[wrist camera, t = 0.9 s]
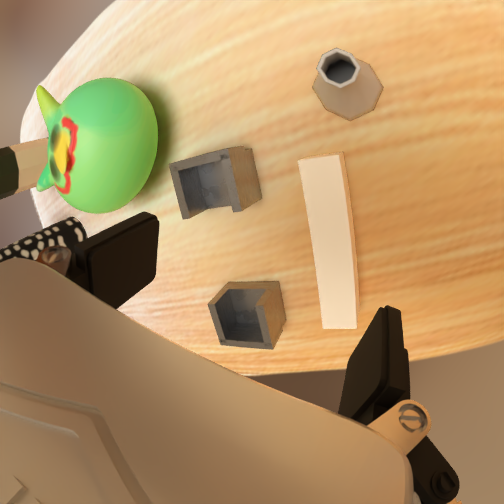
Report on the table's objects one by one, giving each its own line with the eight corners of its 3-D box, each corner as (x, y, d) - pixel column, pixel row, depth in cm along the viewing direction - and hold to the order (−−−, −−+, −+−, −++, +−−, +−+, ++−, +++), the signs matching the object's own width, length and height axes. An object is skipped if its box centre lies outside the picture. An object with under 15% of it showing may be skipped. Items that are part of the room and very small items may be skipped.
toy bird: (163, 214, 42) (86, 253, 29) (92, 176, 45) (21, 200, 32) (194, 90, 33) (105, 84, 20) (109, 73, 36) (30, 74, 23)
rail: (343, 151, 30) (338, 154, 26) (359, 305, 36) (356, 328, 32) (307, 156, 32) (297, 160, 27) (329, 305, 38) (322, 328, 33)
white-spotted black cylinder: (66, 209, 51) (-16, 246, 34) (89, 229, 50) (3, 273, 33) (64, 242, 55) (-9, 282, 38) (87, 262, 54) (11, 309, 37)
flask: (351, 132, 28) (343, 132, 20) (301, 88, 28) (272, 72, 20) (395, 88, 25) (405, 69, 16) (343, 43, 25) (330, 10, 16)
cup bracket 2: (278, 281, 39) (263, 305, 34) (286, 322, 41) (273, 349, 36) (228, 282, 42) (207, 304, 37) (238, 320, 44) (220, 344, 39)
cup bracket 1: (250, 144, 33) (227, 148, 28) (262, 198, 35) (241, 211, 30) (197, 157, 36) (168, 164, 31) (208, 206, 38) (182, 219, 33)
